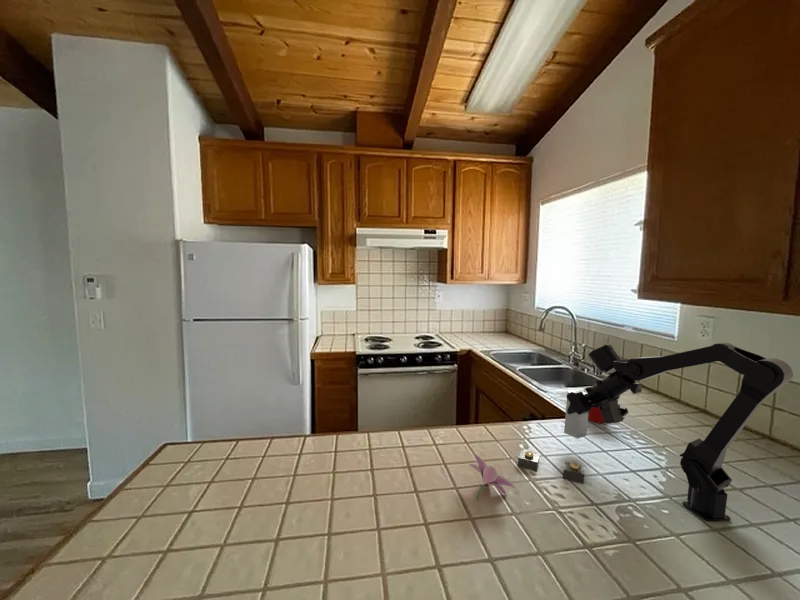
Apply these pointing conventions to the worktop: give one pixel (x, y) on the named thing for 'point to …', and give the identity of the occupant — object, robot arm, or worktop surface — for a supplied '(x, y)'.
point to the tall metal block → (575, 422)
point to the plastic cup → (594, 412)
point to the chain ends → (569, 471)
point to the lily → (490, 475)
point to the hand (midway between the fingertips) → (572, 411)
